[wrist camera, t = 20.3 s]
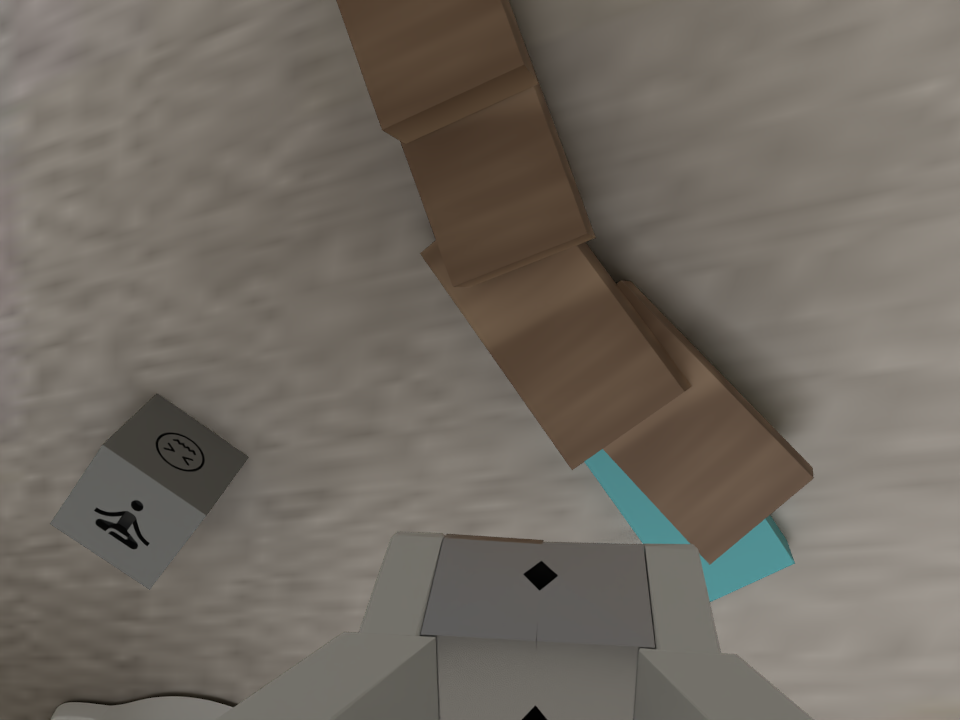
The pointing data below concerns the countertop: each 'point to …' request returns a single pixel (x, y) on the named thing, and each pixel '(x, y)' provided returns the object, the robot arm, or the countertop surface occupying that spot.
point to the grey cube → (149, 490)
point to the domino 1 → (435, 59)
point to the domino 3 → (569, 347)
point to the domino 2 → (498, 189)
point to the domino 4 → (706, 450)
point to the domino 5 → (726, 574)
